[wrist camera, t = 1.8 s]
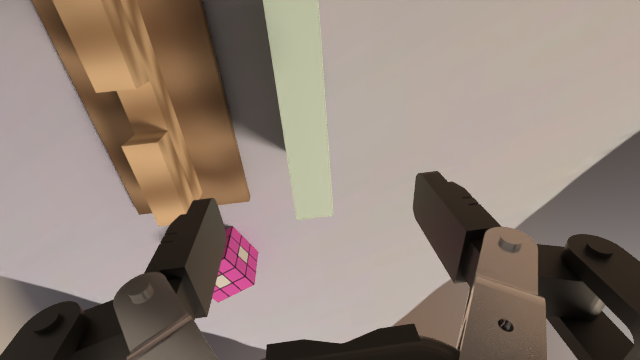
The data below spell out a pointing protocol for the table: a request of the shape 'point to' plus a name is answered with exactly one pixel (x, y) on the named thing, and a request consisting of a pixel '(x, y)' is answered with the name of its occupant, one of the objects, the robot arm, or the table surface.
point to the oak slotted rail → (152, 98)
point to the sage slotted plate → (301, 101)
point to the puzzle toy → (235, 266)
